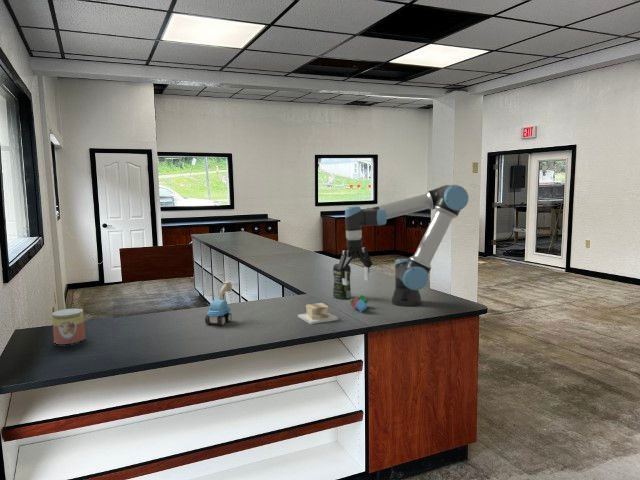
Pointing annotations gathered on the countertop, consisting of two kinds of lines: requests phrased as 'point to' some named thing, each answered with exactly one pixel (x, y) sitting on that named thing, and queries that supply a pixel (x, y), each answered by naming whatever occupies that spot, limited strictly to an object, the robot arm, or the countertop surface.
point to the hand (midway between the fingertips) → (355, 282)
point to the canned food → (68, 325)
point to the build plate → (314, 321)
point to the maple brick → (317, 311)
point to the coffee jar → (339, 288)
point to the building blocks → (359, 303)
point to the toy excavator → (220, 308)
